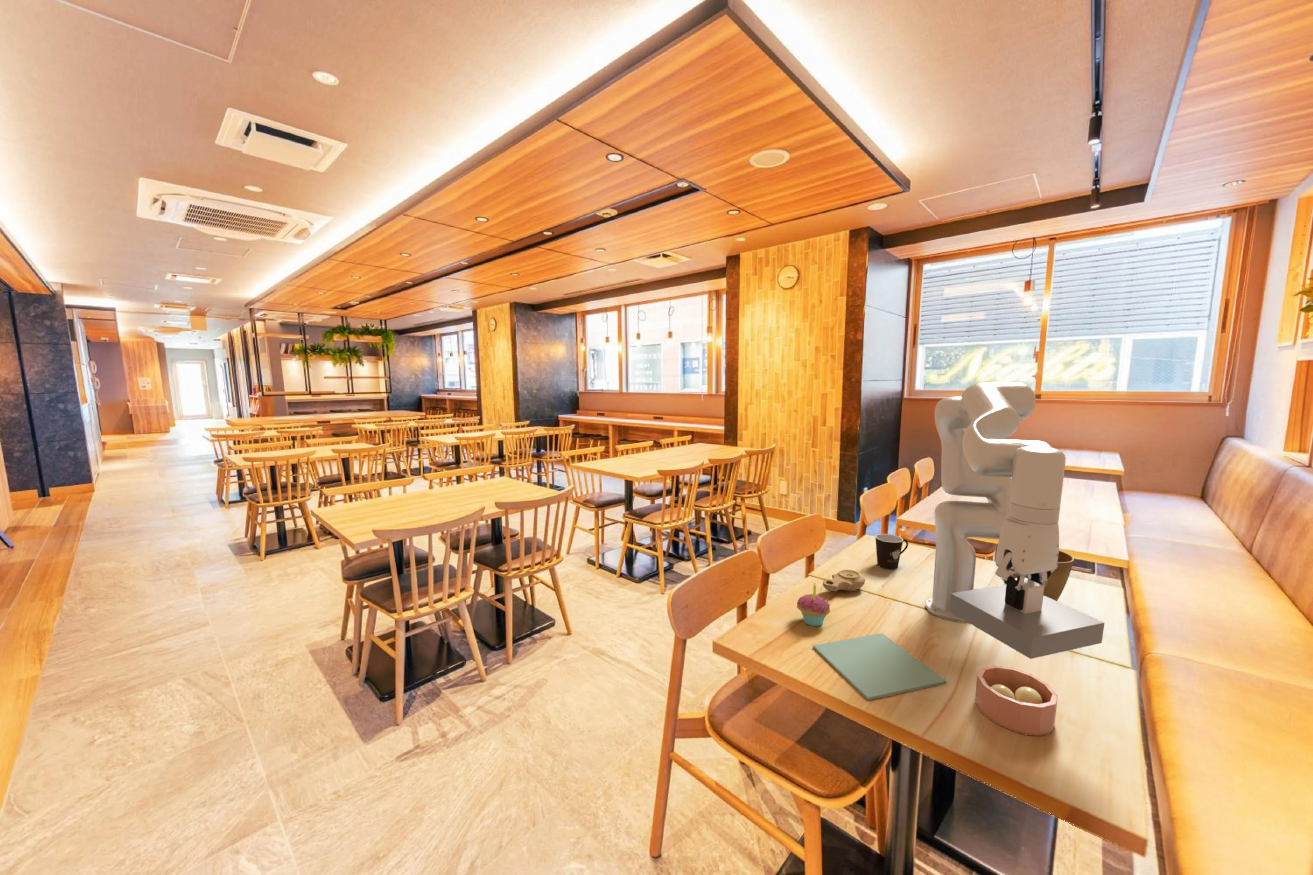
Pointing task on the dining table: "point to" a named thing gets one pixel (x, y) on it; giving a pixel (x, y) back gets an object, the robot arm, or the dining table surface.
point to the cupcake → (813, 608)
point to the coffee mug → (889, 550)
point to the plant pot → (1058, 576)
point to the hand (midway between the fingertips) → (1023, 603)
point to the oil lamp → (844, 581)
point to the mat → (878, 666)
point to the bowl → (1016, 700)
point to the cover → (1027, 620)
